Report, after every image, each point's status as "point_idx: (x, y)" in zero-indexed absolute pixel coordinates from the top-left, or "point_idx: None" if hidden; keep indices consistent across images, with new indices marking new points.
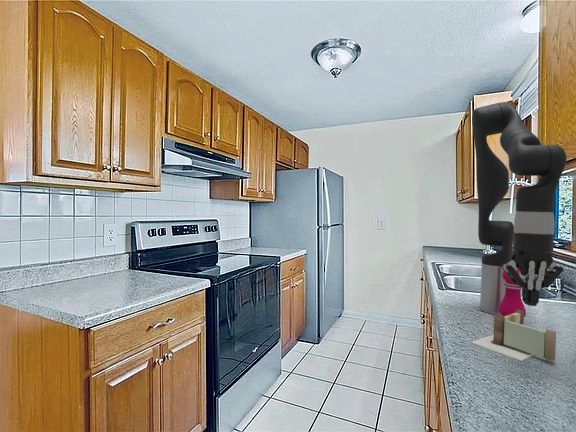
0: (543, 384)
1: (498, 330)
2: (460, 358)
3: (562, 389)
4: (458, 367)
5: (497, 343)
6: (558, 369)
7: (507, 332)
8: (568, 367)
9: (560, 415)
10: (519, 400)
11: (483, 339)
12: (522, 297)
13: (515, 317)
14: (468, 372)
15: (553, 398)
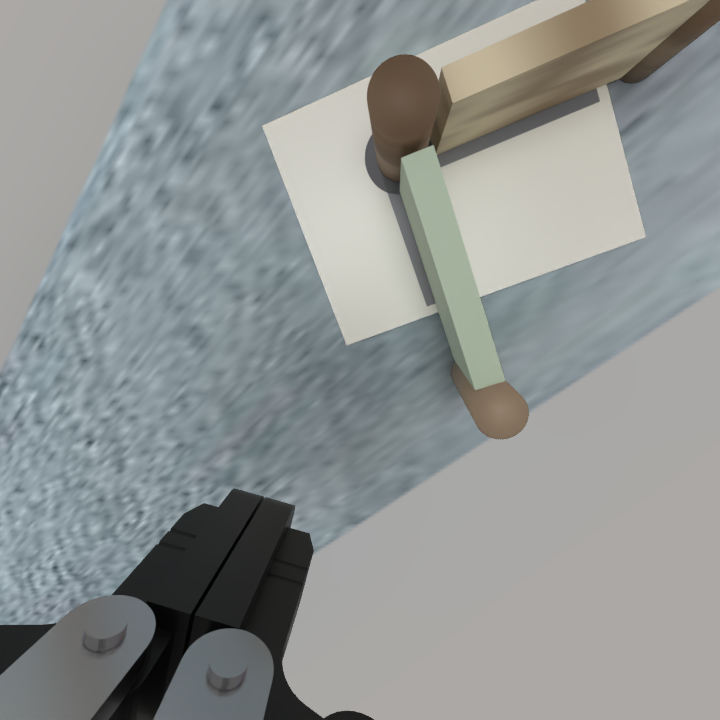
0: None
1: (379, 153)
2: (103, 281)
3: None
4: (51, 350)
5: (381, 170)
6: (440, 425)
7: (406, 194)
8: None
9: None
10: (117, 552)
11: (357, 96)
12: (173, 528)
13: (624, 34)
14: (66, 389)
15: None
